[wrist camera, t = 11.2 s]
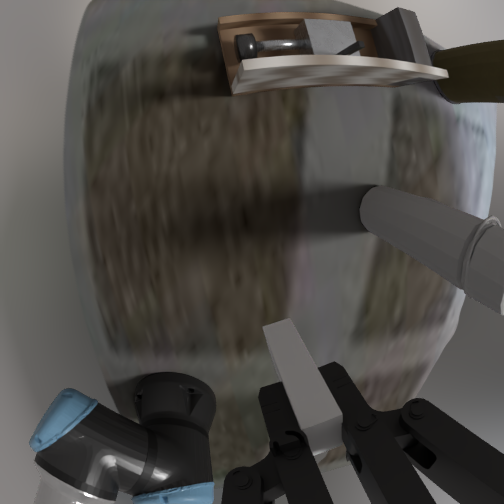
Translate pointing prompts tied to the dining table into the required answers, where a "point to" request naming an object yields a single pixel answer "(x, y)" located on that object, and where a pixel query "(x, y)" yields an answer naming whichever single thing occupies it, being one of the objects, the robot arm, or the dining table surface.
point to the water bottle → (441, 240)
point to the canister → (472, 72)
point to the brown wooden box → (328, 66)
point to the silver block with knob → (305, 40)
